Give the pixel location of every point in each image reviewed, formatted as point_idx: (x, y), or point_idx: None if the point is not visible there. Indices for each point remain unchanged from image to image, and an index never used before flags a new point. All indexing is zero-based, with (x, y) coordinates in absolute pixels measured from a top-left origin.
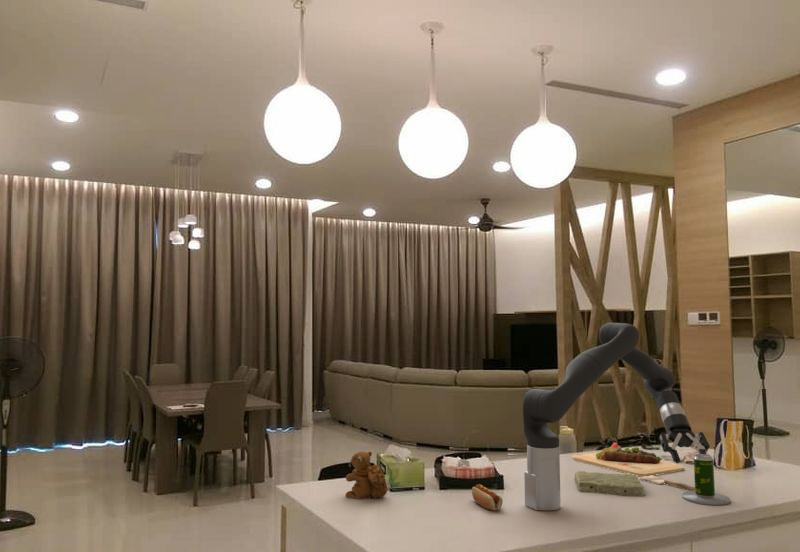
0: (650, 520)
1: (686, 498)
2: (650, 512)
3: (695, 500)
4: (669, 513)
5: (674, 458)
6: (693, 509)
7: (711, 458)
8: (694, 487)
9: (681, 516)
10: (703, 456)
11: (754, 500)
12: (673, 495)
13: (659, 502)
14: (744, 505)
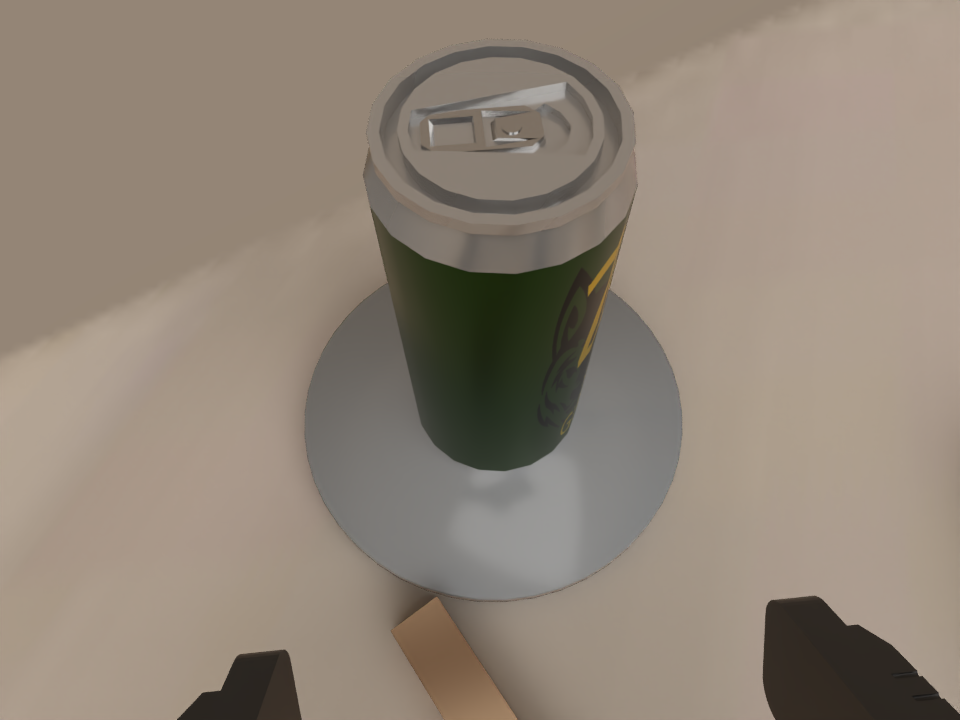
0: (917, 10)
1: (662, 357)
2: (924, 107)
3: (611, 291)
4: (815, 103)
5: (882, 655)
6: (659, 177)
7: (416, 82)
8: (498, 692)
9: (754, 69)
10: (521, 76)
11: (105, 420)
12: (743, 507)
13: (872, 294)
14: (276, 286)
